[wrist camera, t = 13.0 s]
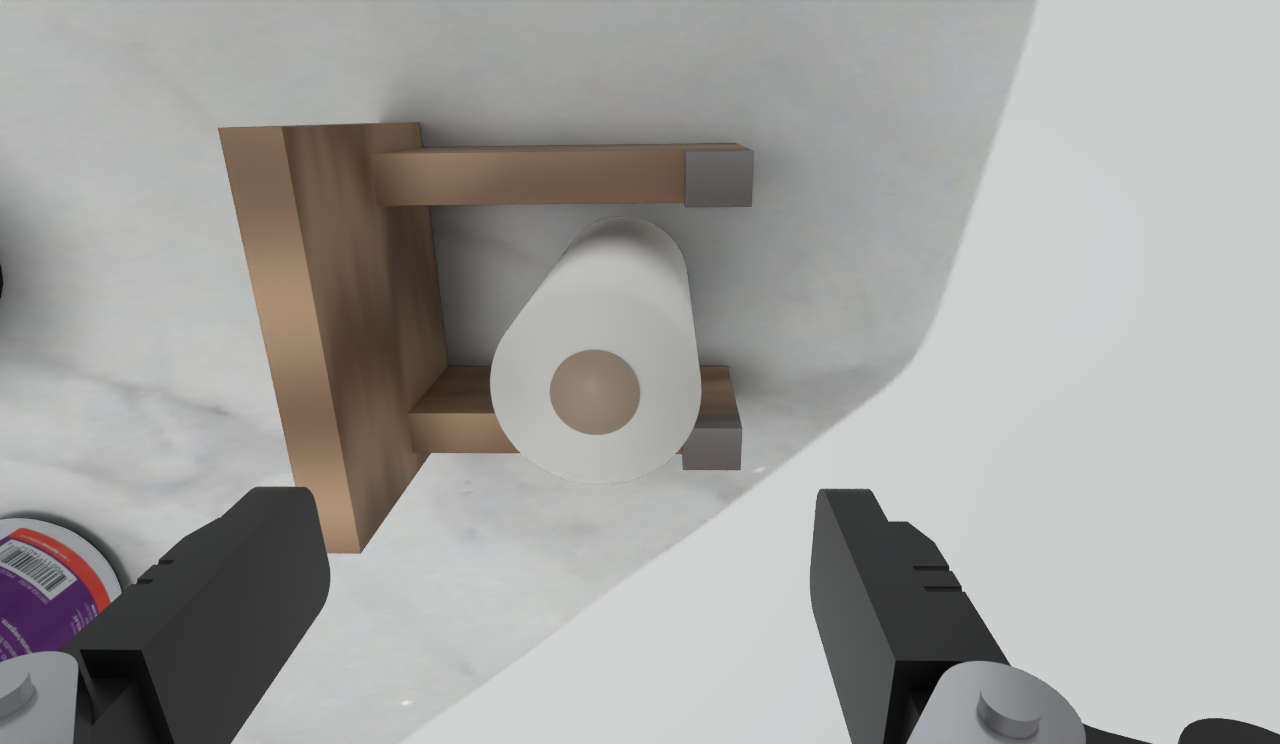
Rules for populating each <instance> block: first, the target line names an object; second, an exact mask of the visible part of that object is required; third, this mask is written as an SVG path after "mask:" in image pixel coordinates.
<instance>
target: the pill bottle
mask: <svg viewBox="0 0 1280 744" xmlns="http://www.w3.org/2000/svg"><path fill="white" fill-rule="evenodd" d="M121 593H122V592H121V588H120V585H119V582H118V580H117V577H116V575H115V573H114V571H113V570H112V568H111V566H110V565H109V563H108V562H107V561H106V559H105V558H104V557H103V556H102V555H101V553H100V552H99V551H98V550H97V549H95V548H94V547H93V546H92V545H91V544H90V543H89V542H87V541H86V540H85V539H83V538H82V537H80V536H79V535H77V534H76V533H74V532H72V531H70V530H68V529H66V528H63V527H60V526H58V525H55V524H52V523H48V522H44V521H39V520H34V519H24V518H11V519H2V520H0V662H3V661H5V660H8V659H11V658H15V657H18V656H22V655H26V654H31V653H36V652H44V651H56V652H57V651H58V650H59V649H60V648H61V647H63V646H64V645H65V644H66V643H67V642H68V641H69V640H70V639H71V638H73V637H74V636H75V635H76V634H77V633H78V632H79V631H80V630H81V629H83V628H84V627H85V626H86V625H87V624H88V623H89V622H90V621H91V620H93V619H94V618H95V617H96V616H97V615H98V614H99V613H100V612H101V611H103V610H104V609H105V608H106V607H107V606H108V605H109V604H110V603H111V602H113V601H114V600H115V599H116V598H117V597H118V596H119V595H120V594H121Z"/></svg>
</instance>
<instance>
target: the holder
mask: <svg viewBox="0 0 1280 744" xmlns="http://www.w3.org/2000/svg"><path fill="white" fill-rule="evenodd" d="M218 131H219V135H220V140H221V144H222V149H223V154H224V158H225V163H226V168H227V172H228V177H229V181H230V186H231V191H232V195H233V200H234V205H235V209H236V214H237V218H238V223H239V228H240V232H241V237H242V242H243V246H244V251H245V255H246V260H247V265H248V269H249V274H250V279H251V283H252V288H253V292H254V297H255V302H256V306H257V311H258V316H259V320H260V325H261V329H262V334H263V339H264V343H265V348H266V353H267V357H268V362H269V366H270V371H271V376H272V380H273V385H274V390H275V394H276V399H277V403H278V408H279V413H280V417H281V422H282V427H283V431H284V436H285V440H286V445H287V450H288V454H289V459H290V463H291V468H292V473H293V477H294V482H295V487H306V488H308V489H309V490H310V491H311V492H312V494H313V496H314V498H315V502H316V506H317V511H318V515H319V520H320V525H321V529H322V534H323V538H324V543H325V548H326V552H327V553H358V554H361V552H362V551H363V549H364V548H365V547H366V545H367V544H368V542H369V541H370V539H371V538H372V537H373V535H374V534H375V532H376V531H377V529H378V528H379V527H380V525H381V524H382V522H383V521H384V519H385V518H386V517H387V515H388V514H389V512H390V511H391V509H392V508H393V507H394V505H395V504H396V502H397V501H398V499H399V498H400V496H401V495H402V494H403V492H404V491H405V489H406V488H407V486H408V485H409V484H410V482H411V481H412V479H413V478H414V476H415V475H416V474H417V472H418V471H419V469H420V468H421V466H422V465H423V464H424V462H425V461H426V459H427V458H428V456H429V455H430V454H431V453H520V452H519V451H518V450H517V449H516V448H515V446H514V445H513V444H512V443H511V442H510V440H509V439H508V437H507V436H506V434H505V433H504V431H503V430H502V428H501V426H500V423H499V421H498V419H497V417H496V414H495V411H494V407H493V404H492V398H491V392H490V375H491V367H492V366H448V360H447V351H446V343H445V334H444V326H443V318H442V309H441V301H440V292H439V284H438V276H437V267H436V259H435V250H434V242H433V234H432V225H431V217H430V208H429V205H494V204H595V203H685V207H751V206H752V182H753V158H754V151H752V150H750V149H747V148H745V147H743V146H740V145H738V144H736V143H702V144H626V145H551V146H476V147H422V141H421V133H420V125H419V122H414V123H362V124H329V125H296V126H262V127H229V128H218ZM699 368H700V376H701V403H700V409H699V413H698V417H697V420H696V422H695V425H694V427H693V430H692V431H691V433H690V435H689V437H688V439H687V440H686V442H685V443H684V444H683V446H682V447H681V448H680V450H679V451H678V452H677V453H676V454H682V460H683V470H740V468H741V444H742V426H741V422H740V417H739V413H738V409H737V405H736V401H735V396H734V392H733V388H732V384H731V380H730V375H729V371H728V367H727V366H699Z"/></svg>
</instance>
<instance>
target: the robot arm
mask: <svg viewBox="0 0 1280 744" xmlns="http://www.w3.org/2000/svg"><path fill="white" fill-rule="evenodd" d="M329 587H330V566H329V562H328V557H327V552H326V548H325V543H324V538H323V534H322V529H321V525H320V520H319V515H318V511H317V506H316V502H315V498H314V496H313V494H312V492H311V491H310V490H309V489H308V488H306V487H255V488H253V489H251V490H250V491H249V492H248V493H247V494H246V495H245V496H243V497H242V498H241V499H240V500H239V501H238V502H237V503H236V504H235V505H234V506H233V507H232V508H231V509H229V510H228V511H227V512H226V513H225V514H224V515H223V516H222V517H221V518H218V519H216V520H214V521H212V522H210V523H209V524H207V525H205V526H203V527H202V528H200V529H198V530H196V531H194V532H193V533H191V534H189V535H187V536H185V537H184V538H183V539H182V540H180V541H179V542H178V543H177V544H176V545H175V546H174V547H173V548H172V549H170V550H169V551H168V552H167V553H166V554H165V555H164V556H163V557H162V558H160V559H159V563H158V565H153V566H152V567H150V568H149V569H148V570H147V571H146V572H145V573H144V574H143V575H141V576H140V577H139V578H138V579H137V584H131V585H130V586H129V587H128V588H127V589H126V590H125V591H124V592H123V593H121V594H120V595H119V596H118V597H117V598H116V599H115V600H114V601H113V602H111V603H110V604H109V605H108V606H107V607H106V608H105V609H104V610H103V611H101V612H100V613H99V614H98V615H97V616H96V617H95V618H94V619H93V620H91V621H90V622H89V623H88V624H87V625H86V626H85V627H84V628H83V629H81V630H80V631H79V632H78V633H77V634H76V635H75V636H74V637H73V638H71V639H70V640H69V641H68V642H67V643H66V644H65V645H64V646H63V647H61V648H60V649H59V650H58V651H57V652H56V651H44V652H36V653H31V654H26V655H22V656H18V657H15V658H11V659H8V660H5V661H3V662H0V744H231V742H232V741H233V739H234V738H235V736H236V735H237V733H238V732H239V730H240V729H241V728H242V726H243V725H244V723H245V722H246V720H247V719H248V717H249V716H250V714H251V713H252V711H253V710H254V708H255V707H256V705H257V704H258V703H259V701H260V700H261V698H262V697H263V695H264V694H265V692H266V691H267V689H268V688H269V686H270V685H271V683H272V682H273V680H274V679H275V677H276V676H277V675H278V673H279V672H280V670H281V669H282V667H283V666H284V664H285V663H286V661H287V660H288V658H289V657H290V655H291V654H292V652H293V651H294V649H295V648H296V647H297V645H298V644H299V642H300V641H301V639H302V638H303V636H304V635H305V633H306V632H307V630H308V629H309V627H310V626H311V624H312V623H313V622H314V620H315V619H316V617H317V616H318V614H319V613H320V611H321V610H322V608H323V606H324V604H325V602H326V599H327V596H328V592H329ZM810 593H811V601H812V608H813V613H814V617H815V620H816V623H817V627H818V630H819V634H820V637H821V641H822V644H823V647H824V651H825V654H826V657H827V660H828V664H829V668H830V671H831V674H832V677H833V681H834V684H835V688H836V691H837V695H838V698H839V701H840V705H841V708H842V711H843V715H844V718H845V721H846V725H847V728H848V732H849V735H850V738H851V742H852V744H1151V743H1147V742H1143V741H1140V740H1136V739H1132V738H1128V737H1124V736H1121V735H1117V734H1112V733H1108V732H1105V731H1102V730H1099V729H1096V728H1093V727H1090V726H1087V725H1085V724H1083V723H1082V722H1081V719H1080V717H1079V716H1078V714H1077V713H1076V711H1075V710H1074V708H1073V707H1072V706H1071V705H1070V704H1069V702H1068V701H1067V700H1066V699H1065V698H1064V697H1063V696H1062V695H1061V694H1059V693H1058V692H1057V691H1056V690H1055V689H1053V688H1052V687H1051V686H1049V685H1048V684H1047V683H1045V682H1043V681H1042V680H1040V679H1038V678H1037V677H1035V676H1033V675H1031V674H1029V673H1027V672H1025V671H1023V670H1020V669H1017V668H1014V667H1012V666H1011V665H1010V664H1009V662H1008V661H1007V659H1006V657H1005V655H1004V654H1003V652H1002V651H1001V649H1000V647H999V646H998V644H997V643H996V641H995V639H994V638H993V636H992V635H991V633H990V631H989V630H988V628H987V627H986V625H985V623H984V622H983V620H982V618H981V617H980V615H979V614H978V612H977V610H976V609H975V607H974V606H973V604H972V603H971V601H970V599H969V598H968V596H967V594H966V593H965V592H962V586H961V585H960V583H959V582H958V580H957V578H956V577H955V575H954V573H953V572H952V571H949V565H948V564H947V562H946V561H945V559H944V557H943V556H942V554H941V552H940V551H939V549H938V548H937V546H936V544H935V543H934V542H933V541H932V540H930V539H929V538H928V537H927V536H925V535H924V534H923V533H922V532H920V531H919V530H917V529H916V528H915V527H914V526H912V525H911V524H909V523H908V522H888V520H887V518H886V516H885V515H884V513H883V511H882V509H881V507H880V505H879V503H878V502H877V500H876V498H875V496H874V494H873V493H872V491H871V490H870V489H820V490H819V492H818V495H817V500H816V510H815V522H814V533H813V544H812V556H811V567H810ZM1178 744H1280V735H1279V734H1277V733H1274V732H1272V731H1269V730H1267V729H1264V728H1261V727H1258V726H1255V725H1252V724H1249V723H1245V722H1241V721H1236V720H1230V719H1222V718H1212V719H1211V718H1208V719H1202V720H1198V721H1195V722H1193V723H1191V724H1189V725H1188V726H1187V727H1186V728H1184V730H1183V732H1182V734H1181V735H1180V738H1179V741H1178Z"/></svg>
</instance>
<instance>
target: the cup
mask: <svg viewBox="0 0 1280 744" xmlns="http://www.w3.org/2000/svg"><path fill="white" fill-rule="evenodd" d="M2 286H3V280H2V271H1V266H0V298H1V292H2Z"/></svg>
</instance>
